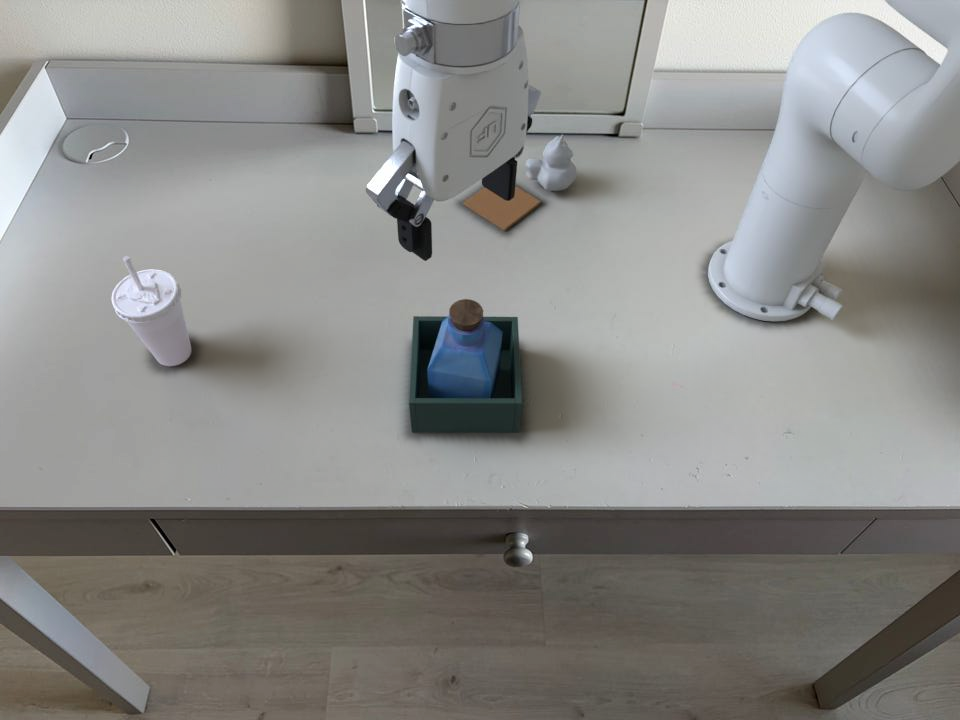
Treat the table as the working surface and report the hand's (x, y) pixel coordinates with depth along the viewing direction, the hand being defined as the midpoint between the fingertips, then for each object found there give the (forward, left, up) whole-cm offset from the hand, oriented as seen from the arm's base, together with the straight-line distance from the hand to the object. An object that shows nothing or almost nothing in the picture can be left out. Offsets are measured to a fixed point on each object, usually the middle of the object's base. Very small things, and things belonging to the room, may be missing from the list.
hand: (457, 220), depth 64 cm
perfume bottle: (-1, 0, -23) cm, 23 cm away
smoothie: (+25, +18, -23) cm, 39 cm away
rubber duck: (+13, -31, -23) cm, 41 cm away
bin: (-1, 0, -23) cm, 23 cm away
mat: (+15, -24, -23) cm, 36 cm away
